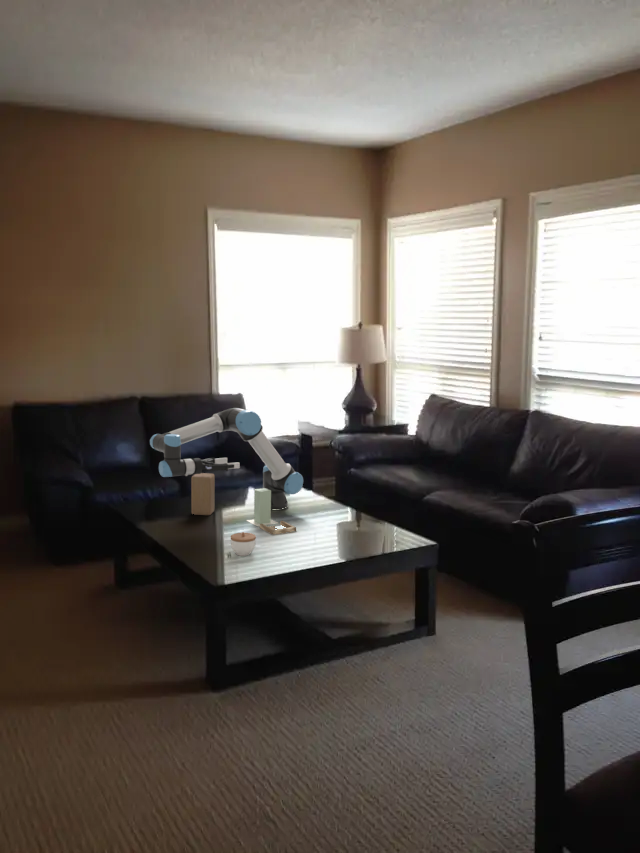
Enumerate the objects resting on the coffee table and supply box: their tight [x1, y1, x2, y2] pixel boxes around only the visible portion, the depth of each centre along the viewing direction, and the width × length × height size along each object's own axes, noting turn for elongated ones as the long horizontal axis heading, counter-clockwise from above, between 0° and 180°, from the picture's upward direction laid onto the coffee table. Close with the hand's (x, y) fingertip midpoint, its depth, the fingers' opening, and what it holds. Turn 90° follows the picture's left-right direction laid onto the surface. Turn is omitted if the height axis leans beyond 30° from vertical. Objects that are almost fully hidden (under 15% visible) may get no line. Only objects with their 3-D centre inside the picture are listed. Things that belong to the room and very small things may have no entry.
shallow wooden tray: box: [259, 520, 297, 536], centre depth 354 cm, size 12×13×2 cm
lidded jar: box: [230, 531, 257, 557], centre depth 318 cm, size 11×11×9 cm
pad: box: [245, 518, 279, 527], centre depth 367 cm, size 12×12×1 cm
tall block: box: [253, 487, 272, 524], centre depth 366 cm, size 6×6×16 cm
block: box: [190, 472, 216, 516], centre depth 382 cm, size 10×10×20 cm
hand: (233, 462), depth 362 cm, fingers open, 13 cm apart
